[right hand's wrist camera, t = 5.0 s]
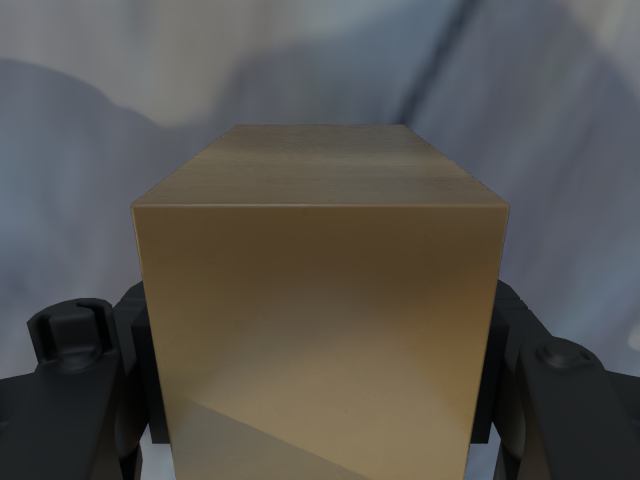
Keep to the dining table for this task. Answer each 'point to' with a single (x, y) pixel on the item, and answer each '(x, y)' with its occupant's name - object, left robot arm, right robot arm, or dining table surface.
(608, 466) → the right robot arm
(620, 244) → the dining table surface
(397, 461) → the bar
